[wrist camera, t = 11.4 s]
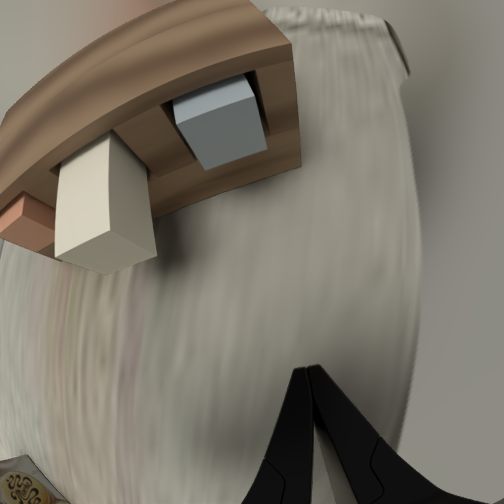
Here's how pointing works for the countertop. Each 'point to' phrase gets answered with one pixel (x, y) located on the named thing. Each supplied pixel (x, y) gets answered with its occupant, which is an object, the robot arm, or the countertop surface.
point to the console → (155, 103)
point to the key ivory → (104, 207)
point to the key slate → (220, 121)
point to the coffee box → (26, 484)
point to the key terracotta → (28, 222)
